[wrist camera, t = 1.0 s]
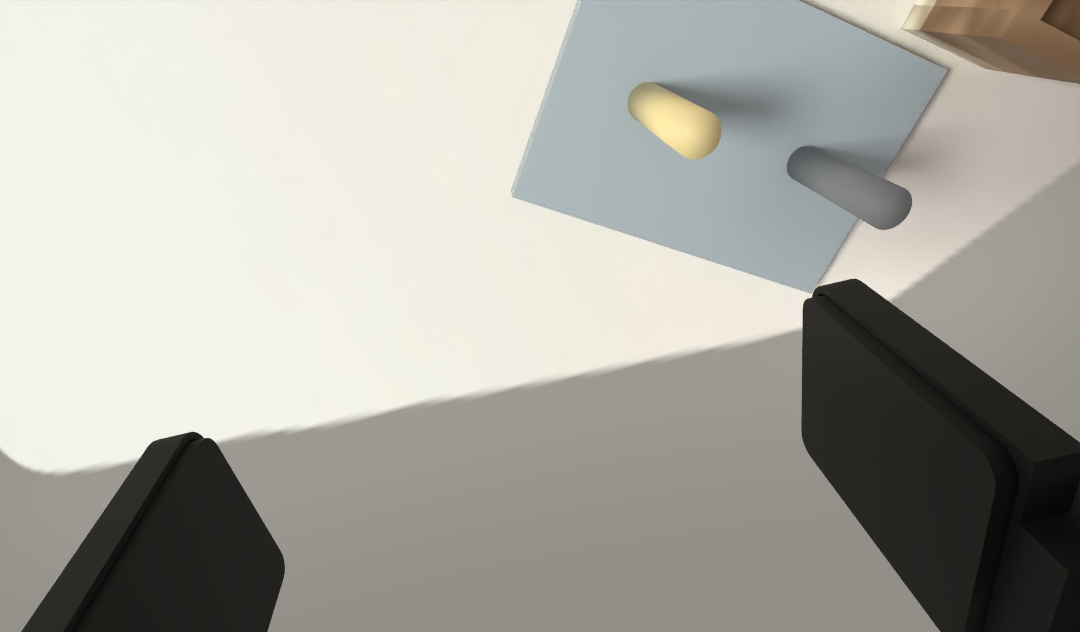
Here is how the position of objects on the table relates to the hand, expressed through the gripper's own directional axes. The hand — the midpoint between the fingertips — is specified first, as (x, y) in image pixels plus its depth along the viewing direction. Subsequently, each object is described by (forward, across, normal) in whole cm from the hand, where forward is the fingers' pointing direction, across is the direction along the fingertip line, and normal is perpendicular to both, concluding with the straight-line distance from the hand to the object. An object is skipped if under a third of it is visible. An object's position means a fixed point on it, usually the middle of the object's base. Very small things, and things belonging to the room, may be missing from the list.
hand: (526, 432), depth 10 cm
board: (+26, -13, +3) cm, 29 cm away
